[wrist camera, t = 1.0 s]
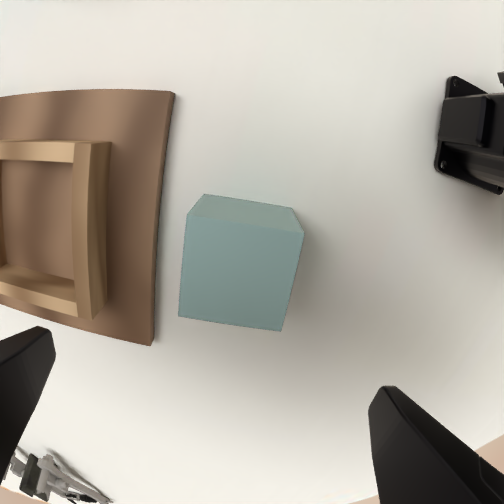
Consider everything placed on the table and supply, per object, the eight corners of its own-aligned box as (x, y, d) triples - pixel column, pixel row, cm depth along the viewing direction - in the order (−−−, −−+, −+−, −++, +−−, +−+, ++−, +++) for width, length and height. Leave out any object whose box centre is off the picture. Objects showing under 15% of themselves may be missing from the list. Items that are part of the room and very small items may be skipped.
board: (174, 93, 16) (156, 84, 12) (154, 337, 21) (140, 369, 18) (-17, 101, 15) (-48, 102, 12) (-9, 292, 20) (-33, 311, 17)
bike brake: (-1, 438, 29) (76, 492, 38) (-14, 472, 23) (70, 521, 32) (54, 448, 28) (134, 501, 37) (41, 491, 22) (131, 534, 31)
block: (291, 207, 18) (304, 233, 13) (274, 285, 20) (280, 331, 15) (204, 193, 18) (186, 214, 13) (194, 273, 20) (178, 315, 15)
